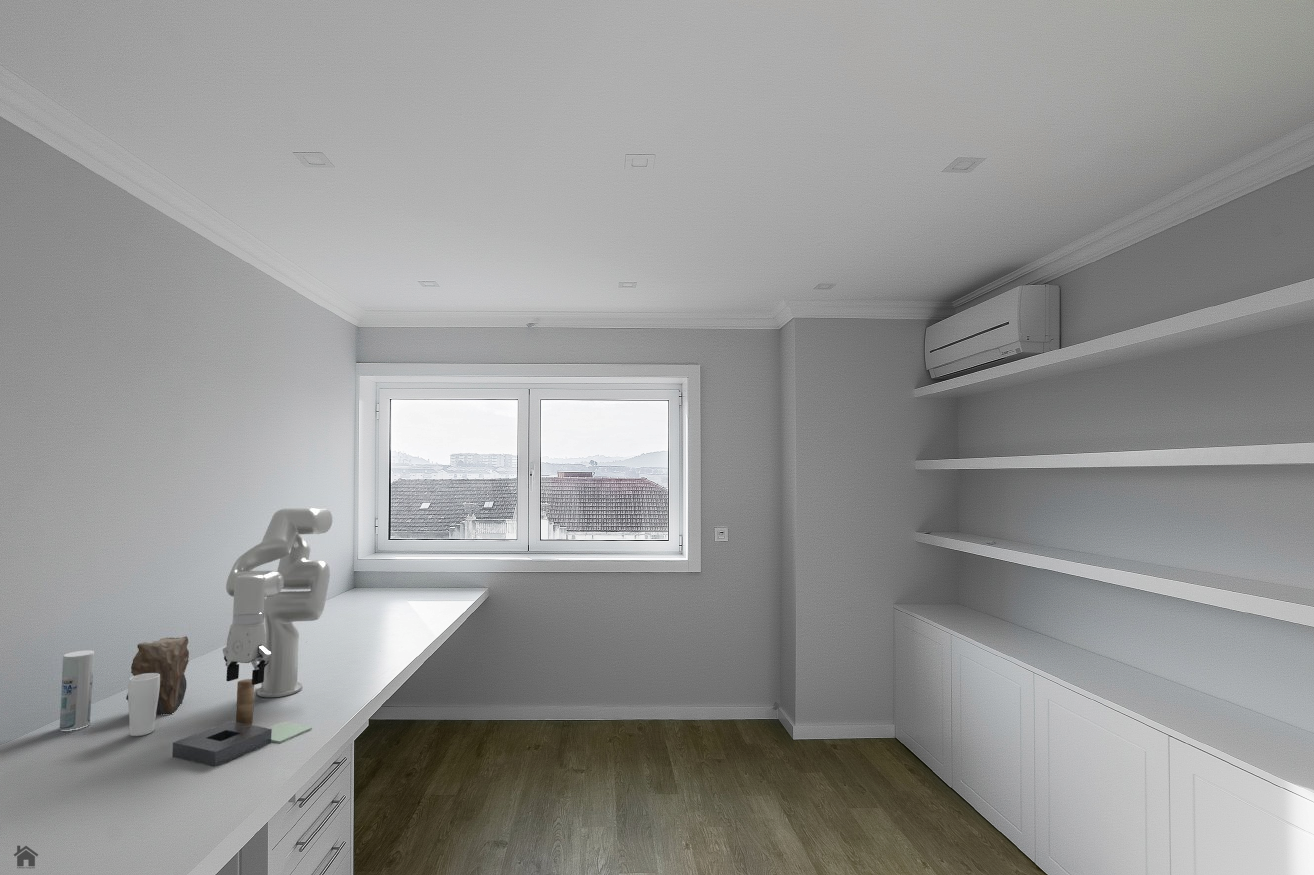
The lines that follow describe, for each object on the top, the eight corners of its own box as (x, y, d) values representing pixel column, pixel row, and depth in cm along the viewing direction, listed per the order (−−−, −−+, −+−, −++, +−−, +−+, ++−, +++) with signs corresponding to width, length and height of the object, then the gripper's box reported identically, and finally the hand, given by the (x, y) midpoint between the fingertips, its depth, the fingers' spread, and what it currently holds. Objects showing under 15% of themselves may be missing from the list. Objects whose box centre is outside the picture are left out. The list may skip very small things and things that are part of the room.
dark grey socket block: (172, 757, 161) (172, 742, 162) (230, 734, 175) (230, 721, 176) (215, 766, 156) (215, 751, 156) (271, 742, 170) (271, 729, 170)
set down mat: (249, 737, 174) (249, 735, 174) (282, 723, 183) (282, 721, 183) (279, 743, 170) (279, 741, 170) (312, 729, 179) (312, 727, 179)
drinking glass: (122, 740, 171) (125, 681, 172) (129, 730, 177) (132, 674, 178) (154, 735, 174) (157, 678, 175) (160, 726, 180) (162, 671, 181)
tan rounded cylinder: (232, 726, 181) (234, 682, 181) (245, 721, 184) (247, 678, 185) (242, 728, 179) (244, 684, 180) (255, 723, 183) (257, 680, 184)
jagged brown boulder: (123, 717, 187) (127, 646, 188) (149, 701, 199) (153, 635, 200) (172, 715, 189) (175, 645, 190) (195, 699, 201) (198, 634, 202)
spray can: (53, 729, 177) (57, 655, 178) (81, 721, 183) (85, 649, 184) (67, 733, 175) (71, 657, 176) (95, 725, 181) (99, 651, 182)
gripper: (213, 619, 183) (209, 682, 181) (258, 624, 177) (255, 688, 175) (238, 614, 190) (235, 675, 188) (283, 619, 184) (279, 681, 182)
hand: (244, 681), depth 182 cm, fingers open, 9 cm apart
